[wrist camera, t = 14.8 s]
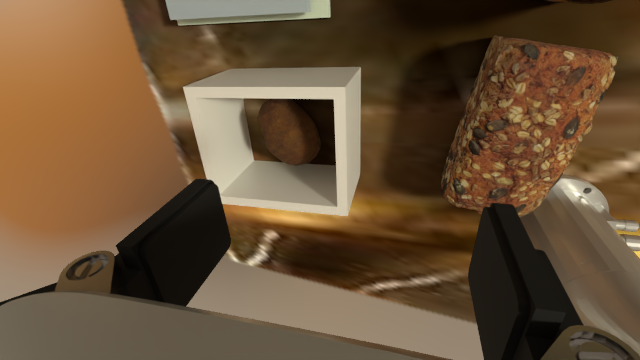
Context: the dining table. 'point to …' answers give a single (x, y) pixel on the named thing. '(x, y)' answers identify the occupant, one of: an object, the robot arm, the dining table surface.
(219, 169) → the open box
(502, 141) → the bread
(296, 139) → the potato
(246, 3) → the lid
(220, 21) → the mat
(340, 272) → the dining table surface
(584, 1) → the supplement container
